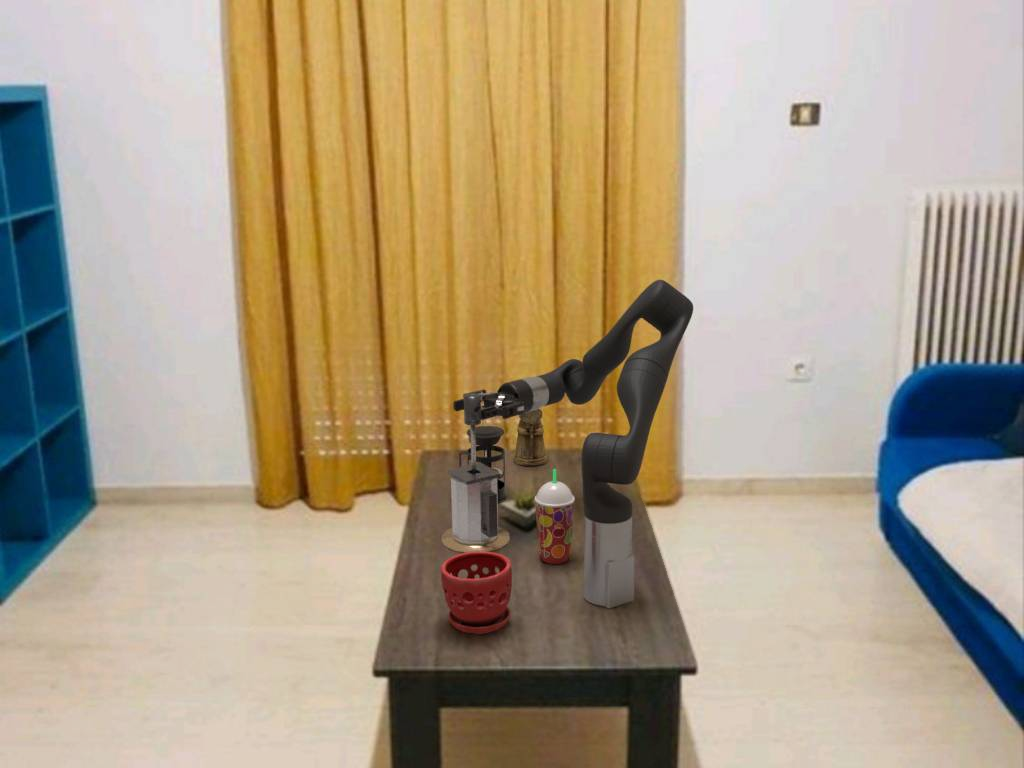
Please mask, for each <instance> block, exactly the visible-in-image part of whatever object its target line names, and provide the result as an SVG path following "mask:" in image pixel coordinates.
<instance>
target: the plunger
mask: <svg viewBox="0 0 1024 768" xmlns="http://www.w3.org/2000/svg"><path fill="white" fill-rule="evenodd" d="M469 393H470V392H469ZM464 394H465V393H464ZM481 404H482V403H481V395H480V394H475V393H470V394H465V395H464V410H463V416H464V417H463V419H464V420H463V421H464V422H463V424H464V425H466V426H470V429H471V443H470V448H471V454H470V455H471V460H470V461H471V464H470V465H472V474H476V464H477V462H476V456H477V451H476V446H477V445H476V440H475V427H476V426H477V425H480V424H481V423H482V420H481V419H479V410H480V409H481V406H482V405H481Z"/></svg>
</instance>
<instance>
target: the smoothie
mask: <svg viewBox="0 0 1024 768" xmlns="http://www.w3.org/2000/svg"><path fill="white" fill-rule="evenodd" d="M537 491H538V492H537V494H535V497H534V504H535V505H534V506H535V519H536V520H535V521H536V531H537V532H536V533H537V534H536V535H537V545H538V549H537V550H538V555H539V556H540V558H541V560H542V561H543V562H545V563H546V564H550V565H559V564H563V563H565V562H567V561H568V560H569V557H570V556H571V554H572V543H573V542H572V541H573V529H574V528H573V527H574V515H575V514H574V511H575V501H576V498H575V495H573V493H572V490H571V489H570V488H569V486H567V484H565V483H563V481H562V482H561V481H558V480H557V469H556V468H554V469H552V480H550V481H548V482H546V483H544V484H543V485H541V486H540V488H539V490H537Z"/></svg>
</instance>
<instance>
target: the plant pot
mask: <svg viewBox="0 0 1024 768" xmlns="http://www.w3.org/2000/svg"><path fill="white" fill-rule="evenodd" d="M472 566H476V567H477V568H476V569H472ZM496 568H497V569H498V570H499V572H497V571H496ZM484 569H487V570H488V573H485V572H484V571H483V570H484ZM462 570H465V571H466V572H467V576H466V577H465V578H463V577H459V573H460V571H462ZM476 575H477V576H479V577H478V578H476ZM440 578H441V585H442V592H443V594H444V598H445V602H446V605H447V607H448V609H449V612H448V620H449V622H450V624H451V625H452V626H453V627H454V628H455V629H457V630H458V631H460V632H463V633H469V634H477V635H478V634H487V633H493V632H495V631H497V630H499V629H501V628H504V626H506V625H507V623H508V622H509V620H510V618H511V613H512V612H511V609H510V607H508V605H509V602H510V600H511V594H512V587H513V572H512V562H511V561H510V559H509V558H508V557H506V556H505V555H503V554H501V553H497V552H494V551H491V552H483V551H477V552H467V553H459V554H456V555H453V556H452V557H450V558H448V559H446V560H445V561H444V562H443V563H442V565H441V567H440Z"/></svg>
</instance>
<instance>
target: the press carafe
mask: <svg viewBox="0 0 1024 768" xmlns="http://www.w3.org/2000/svg"><path fill="white" fill-rule="evenodd" d="M447 475H449V476H450V486H451V487H450V493H451V494H450V496H451V527H449V528H448V529H447V530H445V531H444V532H443V533H442V535H441V543H443V544H442V545H443V546H444V547H445V548H447V549H448V548H449V549H448V550H450V549H451V551H453V552H457V553H461V552H463V553H467V552H477V551H483V552H494V551H498V550H500V549H502V548H504V547H505V546H507V545H508V544H509V541H510V537H511V536H510V533H509V532H508V531H507V529H505V528H503V527H502V526H499V510H498V507H499V506H498V505H499V503H498V494H497V478H499V477H501V474H500V473H498V472H497V471H495V470H493V469H491V468H490V467H488V466H486V465H484V464H483V463H481V462H476V474H472V465H471V464H469V465H468V464H467V465H465V466H463V465H462V467H455V468H451V469H447Z"/></svg>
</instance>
